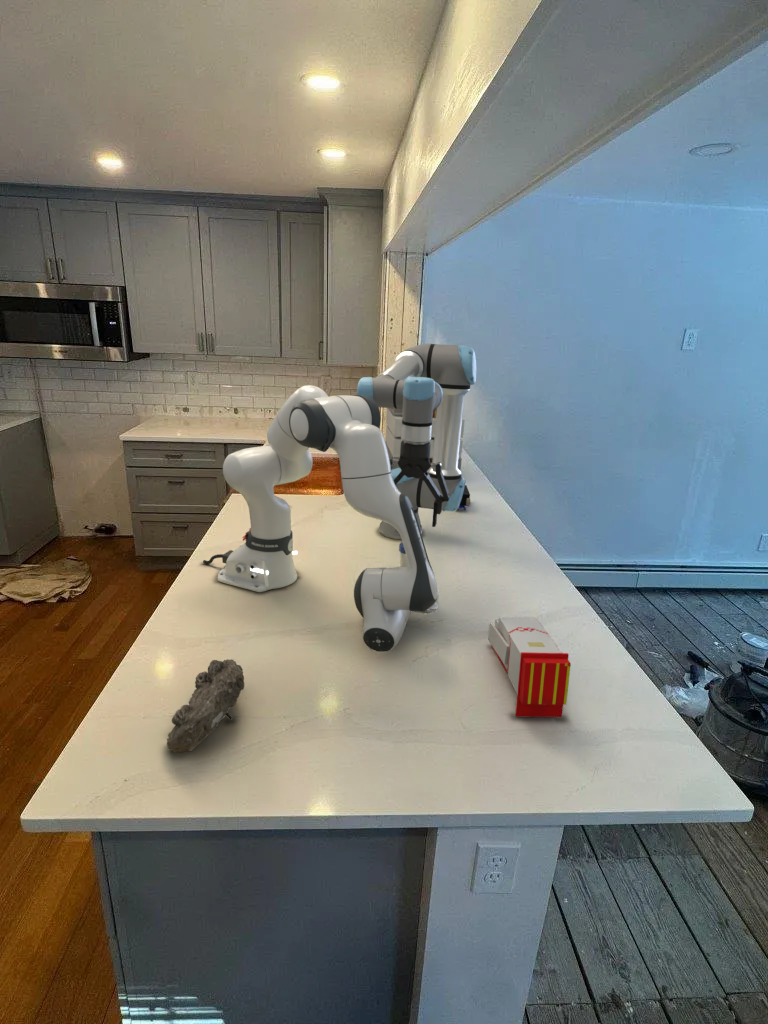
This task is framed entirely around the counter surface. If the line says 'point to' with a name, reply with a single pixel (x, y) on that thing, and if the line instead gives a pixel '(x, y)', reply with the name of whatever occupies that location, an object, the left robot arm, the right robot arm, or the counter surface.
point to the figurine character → (465, 499)
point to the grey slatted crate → (394, 434)
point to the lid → (401, 548)
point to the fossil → (206, 705)
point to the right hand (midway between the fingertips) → (410, 522)
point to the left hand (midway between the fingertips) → (404, 581)
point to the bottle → (403, 560)
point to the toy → (531, 665)
